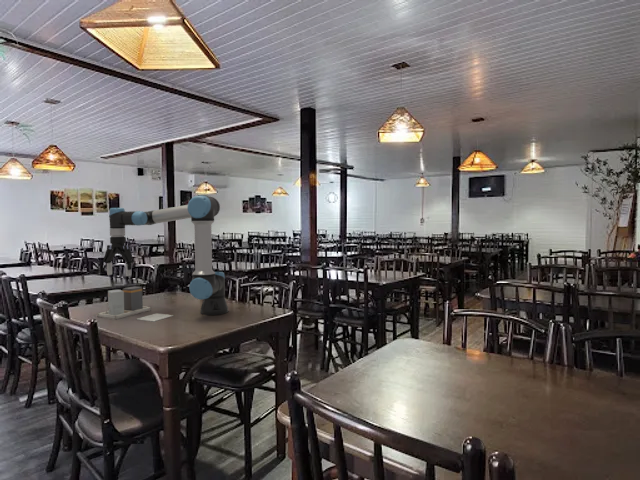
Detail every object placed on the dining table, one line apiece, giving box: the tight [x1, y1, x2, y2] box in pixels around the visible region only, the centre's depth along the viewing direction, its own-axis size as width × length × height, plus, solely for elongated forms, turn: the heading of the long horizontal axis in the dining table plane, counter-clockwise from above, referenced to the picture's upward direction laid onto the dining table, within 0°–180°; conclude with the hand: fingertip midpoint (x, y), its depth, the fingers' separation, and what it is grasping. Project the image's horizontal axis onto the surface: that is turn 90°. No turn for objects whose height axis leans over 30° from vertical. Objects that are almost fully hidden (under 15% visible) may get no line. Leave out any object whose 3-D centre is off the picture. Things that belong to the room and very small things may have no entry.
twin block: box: [122, 285, 144, 311], centre depth 239 cm, size 6×8×13 cm
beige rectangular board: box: [96, 305, 152, 320], centre depth 234 cm, size 14×24×2 cm, turn 157°
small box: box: [107, 289, 124, 315], centre depth 228 cm, size 8×6×13 cm
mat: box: [136, 313, 174, 322], centre depth 224 cm, size 12×14×1 cm
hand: (119, 275), depth 229 cm, fingers open, 13 cm apart
